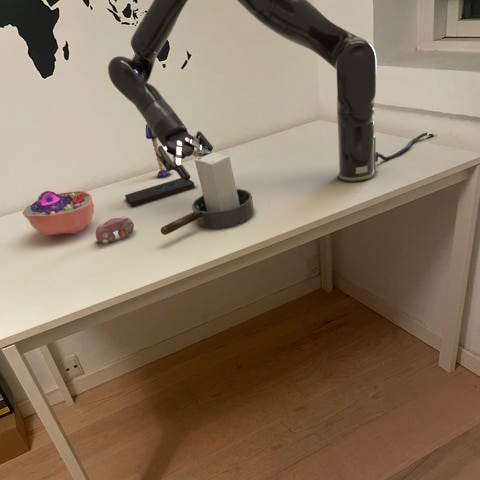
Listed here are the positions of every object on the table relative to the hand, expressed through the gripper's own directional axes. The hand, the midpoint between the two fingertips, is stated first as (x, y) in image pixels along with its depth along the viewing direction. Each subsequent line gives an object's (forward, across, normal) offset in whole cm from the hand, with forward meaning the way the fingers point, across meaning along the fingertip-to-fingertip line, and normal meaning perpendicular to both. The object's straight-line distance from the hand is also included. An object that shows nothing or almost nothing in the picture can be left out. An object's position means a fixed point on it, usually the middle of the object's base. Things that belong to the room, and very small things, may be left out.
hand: (201, 173), depth 121 cm
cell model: (-12, -28, +28) cm, 41 cm away
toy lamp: (-21, +13, +36) cm, 43 cm away
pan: (+12, 0, +3) cm, 12 cm away
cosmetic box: (+11, 0, +3) cm, 12 cm away
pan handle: (+10, -13, +1) cm, 16 cm away
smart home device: (-11, +2, +26) cm, 28 cm away
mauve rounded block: (+1, -23, +15) cm, 27 cm away
